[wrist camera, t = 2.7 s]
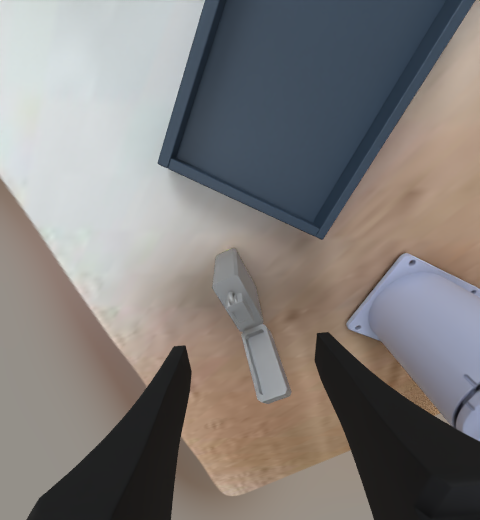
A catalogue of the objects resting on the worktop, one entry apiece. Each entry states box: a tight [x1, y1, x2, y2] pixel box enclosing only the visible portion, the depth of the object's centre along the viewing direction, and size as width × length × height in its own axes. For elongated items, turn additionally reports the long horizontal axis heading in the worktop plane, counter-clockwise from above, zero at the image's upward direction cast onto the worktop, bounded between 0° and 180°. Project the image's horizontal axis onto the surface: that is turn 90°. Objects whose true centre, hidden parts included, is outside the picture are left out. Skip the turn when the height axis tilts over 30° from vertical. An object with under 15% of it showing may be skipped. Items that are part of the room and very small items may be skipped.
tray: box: [158, 0, 475, 240], centre depth 12 cm, size 11×17×2 cm, turn 155°
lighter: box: [212, 248, 291, 404], centre depth 15 cm, size 7×2×8 cm, turn 26°
